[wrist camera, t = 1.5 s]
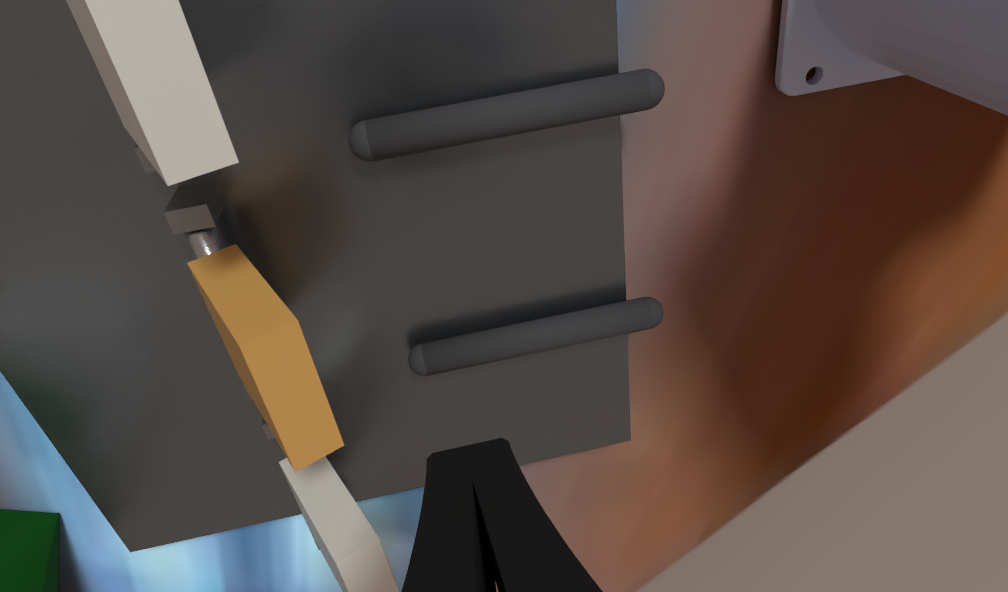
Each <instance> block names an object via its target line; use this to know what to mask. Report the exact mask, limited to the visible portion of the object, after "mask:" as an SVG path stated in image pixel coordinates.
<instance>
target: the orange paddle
mask: <svg viewBox="0 0 1008 592" xmlns="http://www.w3.org/2000/svg"><path fill="white" fill-rule="evenodd" d="M187 264H188V266H189V269H190V271H191V273H192V275H193V277H194V279H195V282H196V284H197V286H198V288H199V290H200V292H201V295H202V297H203V299H204V301H205V303H206V305H207V308H208V310H209V312H210V314H211V316H212V318H213V321H214V323H215V325H216V327H217V329H218V332H219V334H220V336H221V338H222V340H223V342H224V345H225V347H226V349H227V351H228V353H229V355H230V358H231V360H232V362H233V364H234V366H235V368H236V371H237V373H238V375H239V377H240V379H241V380H242V382H243V384H244V385H245V387H246V389H247V391H248V392H249V394H250V396H251V397H252V399H253V401H254V403H255V404H256V406H257V408H258V409H259V411H260V413H261V414H262V416H263V418H264V420H265V421H266V423H267V425H268V426H269V428H270V430H271V432H272V433H273V435H274V437H275V438H276V440H277V442H278V443H279V445H280V447H281V449H282V450H283V452H284V454H285V455H286V457H287V459H288V461H289V462H290V464H291V466H292V467H293V469H294V471H295V472H297V471H299V470H301V469H302V468H304V467H306V466H308V465H310V464H312V463H313V462H315V461H317V460H319V459H321V458H322V457H324V456H326V455H328V454H330V453H332V452H333V451H335V450H337V449H339V448H341V447H343V446H344V443H343V440H342V437H341V435H340V432H339V429H338V427H337V424H336V421H335V419H334V416H333V413H332V410H331V408H330V405H329V402H328V400H327V397H326V394H325V392H324V389H323V386H322V384H321V381H320V378H319V376H318V373H317V370H316V368H315V365H314V362H313V360H312V357H311V354H310V352H309V349H308V346H307V343H306V341H305V338H304V335H303V333H302V330H301V327H300V325H299V322H298V320H297V319H296V317H295V316H294V315H293V314H292V312H291V311H290V310H289V309H288V308H287V306H286V305H285V304H284V303H283V301H282V300H281V299H280V298H279V296H278V295H277V294H276V293H275V292H274V290H273V289H272V288H271V287H270V285H269V284H268V283H267V282H266V280H265V279H264V278H263V277H262V276H261V274H260V273H259V272H258V271H257V269H256V268H255V267H254V266H253V264H252V263H251V262H250V261H249V260H248V258H247V257H246V256H245V255H244V253H243V252H242V251H241V250H240V248H239V247H238V246H237V245H236V244H235V245H232V246H229V247H227V248H224V249H222V250H219V251H216V252H214V253H211V254H209V255H206V256H203V257H201V258H198V259H196V260H193V261H190V262H188V263H187Z"/></svg>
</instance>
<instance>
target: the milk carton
mask: <svg viewBox="0 0 1008 592" xmlns="http://www.w3.org/2000/svg"><path fill="white" fill-rule="evenodd" d="M0 592H59V514H58V513H44V512H29V511H15V510H0Z"/></svg>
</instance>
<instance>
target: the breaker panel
mask: <svg viewBox="0 0 1008 592" xmlns="http://www.w3.org/2000/svg"><path fill="white" fill-rule="evenodd" d="M179 3H180V6H181V8H182V11H183V14H184V16H185V19H186V22H187V24H188V27H189V30H190V32H191V35H192V38H193V41H194V43H195V46H196V49H197V51H198V54H199V57H200V59H201V62H202V65H203V67H204V70H205V73H206V75H207V78H208V81H209V83H210V86H211V89H212V91H213V94H214V97H215V100H216V102H217V105H218V108H219V110H220V113H221V116H222V118H223V121H224V124H225V126H226V129H227V132H228V134H229V137H230V140H231V142H232V145H233V148H234V150H235V153H236V156H237V158H238V161H239V163H236V164H233V165H230V166H227V167H224V168H221V169H218V170H215V171H212V172H209V173H206V174H203V175H200V176H197V177H194V178H191V179H188V180H185V181H182V182H179V183H176V184H173V185H170V186H167V184H166V183H165V182H164V180H163V179H162V177H161V176H160V175H159V173H158V172H157V171H156V169H155V168H154V167H153V165H152V164H151V163H150V161H149V160H148V158H147V157H146V156H145V154H144V153H143V152H142V150H141V149H140V148H139V146H138V145H137V143H136V142H135V141H134V139H133V138H132V137H131V135H130V134H129V133H128V131H127V130H126V129H125V127H124V125H123V123H122V121H121V119H120V116H119V114H118V112H117V110H116V108H115V106H114V103H113V101H112V99H111V97H110V95H109V93H108V90H107V88H106V86H105V84H104V82H103V80H102V77H101V75H100V73H99V71H98V69H97V67H96V64H95V62H94V60H93V58H92V56H91V53H90V51H89V49H88V47H87V45H86V43H85V40H84V38H83V36H82V34H81V32H80V30H79V27H78V25H77V23H76V21H75V19H74V17H73V14H72V12H71V10H70V8H69V6H68V4H67V1H66V0H0V371H1V373H2V374H3V375H4V377H5V378H6V380H7V381H8V382H9V384H10V385H11V387H12V388H13V389H14V391H15V392H16V394H17V395H18V396H19V398H20V399H21V401H22V402H23V403H24V405H25V406H26V408H27V409H28V410H29V412H30V413H31V414H32V416H33V417H34V419H35V420H36V421H37V423H38V424H39V426H40V427H41V428H42V430H43V431H44V433H45V434H46V435H47V437H48V438H49V440H50V441H51V442H52V444H53V445H54V447H55V448H56V449H57V451H58V452H59V453H60V455H61V456H62V458H63V459H64V460H65V462H66V463H67V465H68V466H69V467H70V469H71V470H72V472H73V473H74V474H75V476H76V477H77V479H78V480H79V481H80V483H81V484H82V485H83V487H84V488H85V490H86V491H87V492H88V494H89V495H90V497H91V498H92V499H93V501H94V502H95V504H96V505H97V506H98V508H99V509H100V511H101V512H102V513H103V515H104V516H105V518H106V519H107V520H108V522H109V523H110V524H111V526H112V527H113V529H114V530H115V531H116V533H117V534H118V536H119V537H120V538H121V540H122V541H123V543H124V544H125V545H126V547H127V548H128V550H129V551H130V552H133V551H138V550H142V549H147V548H151V547H156V546H160V545H165V544H169V543H174V542H178V541H182V540H187V539H191V538H196V537H200V536H205V535H209V534H214V533H218V532H223V531H227V530H232V529H236V528H241V527H245V526H250V525H254V524H259V523H263V522H267V521H272V520H276V519H281V518H285V517H290V516H294V515H299V514H302V512H301V510H300V507H299V505H298V503H297V501H296V499H295V497H294V494H293V492H292V490H291V488H290V486H289V484H288V481H287V479H286V477H285V475H284V473H283V471H282V468H281V466H280V464H279V462H280V461H282V460H284V459H285V458H287V457H286V455H285V454H284V452H283V450H282V449H281V447H280V445H279V443H278V442H277V440H276V438H275V437H274V435H273V433H272V432H271V430H270V428H269V426H268V425H267V423H266V421H265V420H264V418H263V416H262V414H261V413H260V411H259V409H258V408H257V406H256V404H255V403H254V401H253V399H252V397H251V396H250V394H249V392H248V391H247V389H246V387H245V385H244V384H243V382H242V380H241V379H240V377H239V375H238V373H237V371H236V368H235V366H234V364H233V362H232V360H231V358H230V355H229V353H228V351H227V349H226V347H225V345H224V342H223V340H222V338H221V336H220V334H219V332H218V329H217V327H216V325H215V323H214V321H213V318H212V316H211V314H210V312H209V310H208V308H207V305H206V303H205V301H204V299H203V297H202V295H201V292H200V290H199V288H198V286H197V284H196V282H195V279H194V277H193V275H192V273H191V271H190V269H189V266H188V264H187V263H188V262H190V261H193V260H196V259H198V258H201V257H203V256H206V255H209V254H211V253H214V252H216V251H219V250H222V249H224V248H227V247H229V246H232V245H235V244H236V245H237V246H238V247H239V248H240V250H241V251H242V252H243V253H244V255H245V256H246V257H247V258H248V260H249V261H250V262H251V263H252V264H253V266H254V267H255V268H256V269H257V271H258V272H259V273H260V274H261V276H262V277H263V278H264V279H265V280H266V282H267V283H268V284H269V285H270V287H271V288H272V289H273V290H274V292H275V293H276V294H277V295H278V296H279V298H280V299H281V300H282V301H283V303H284V304H285V305H286V306H287V308H288V309H289V310H290V311H291V312H292V314H293V315H294V316H295V317H296V319H297V320H298V322H299V325H300V327H301V330H302V333H303V335H304V338H305V341H306V343H307V346H308V349H309V352H310V354H311V357H312V360H313V362H314V365H315V368H316V370H317V373H318V376H319V378H320V381H321V384H322V386H323V389H324V392H325V394H326V397H327V400H328V402H329V405H330V408H331V410H332V413H333V416H334V419H335V421H336V424H337V427H338V429H339V432H340V435H341V437H342V440H343V443H344V446H343V447H341V448H339V449H337V450H335V451H333V452H332V453H330V454H328V455H326V458H327V459H328V461H329V462H330V464H331V465H332V467H333V468H334V470H335V471H336V473H337V475H338V476H339V478H340V479H341V481H342V482H343V484H344V485H345V487H346V488H347V490H348V491H349V493H350V494H351V496H352V497H353V499H354V500H355V502H357V501H361V500H366V499H370V498H375V497H379V496H384V495H388V494H393V493H397V492H402V491H406V490H411V489H415V488H420V487H424V486H425V480H426V466H427V458H428V457H429V456H430V455H431V454H432V453H434V452H439V451H443V450H448V449H452V448H457V447H461V446H466V445H470V444H475V443H479V442H484V441H489V440H493V439H498V438H504V439H506V440H508V441H509V443H510V446H511V449H512V452H513V454H514V456H515V459H516V461H517V463H518V465H522V464H527V463H531V462H536V461H540V460H545V459H549V458H554V457H558V456H563V455H567V454H572V453H576V452H581V451H585V450H589V449H594V448H598V447H603V446H607V445H612V444H616V443H621V442H625V441H630V440H631V434H630V404H629V374H628V344H627V334H623V335H619V336H614V337H609V338H605V339H600V340H595V341H590V342H586V343H581V344H576V345H572V346H567V347H562V348H557V349H553V350H548V351H543V352H539V353H534V354H529V355H524V356H520V357H515V358H510V359H505V360H501V361H496V362H491V363H487V364H482V365H477V366H472V367H468V368H463V369H458V370H454V371H449V372H444V373H439V374H435V375H430V376H420V375H417V374H415V373H414V372H413V371H412V370H411V368H410V367H409V363H408V356H409V353H410V351H411V350H412V349H413V348H414V347H415V346H416V345H418V344H422V343H426V342H431V341H436V340H441V339H446V338H450V337H455V336H460V335H465V334H470V333H474V332H479V331H484V330H489V329H493V328H498V327H503V326H508V325H513V324H517V323H522V322H527V321H532V320H537V319H541V318H546V317H551V316H556V315H561V314H565V313H570V312H575V311H580V310H585V309H589V308H594V307H599V306H604V305H609V304H613V303H618V302H623V301H626V283H625V253H624V223H623V193H622V163H621V133H620V115H618V116H612V117H607V118H602V119H596V120H591V121H586V122H580V123H575V124H570V125H565V126H559V127H554V128H549V129H543V130H538V131H533V132H527V133H522V134H517V135H511V136H506V137H501V138H496V139H490V140H485V141H480V142H474V143H469V144H464V145H458V146H453V147H448V148H442V149H437V150H432V151H426V152H421V153H416V154H411V155H405V156H400V157H395V158H389V159H384V160H379V161H373V162H368V161H364V160H361V159H359V158H358V157H357V156H355V155H354V153H353V152H352V150H351V149H350V146H349V134H350V132H351V130H352V128H353V127H354V126H355V125H356V124H357V123H359V122H361V121H364V120H369V119H374V118H380V117H385V116H391V115H396V114H402V113H407V112H412V111H418V110H423V109H429V108H434V107H440V106H445V105H450V104H456V103H461V102H467V101H472V100H478V99H483V98H489V97H494V96H499V95H505V94H510V93H516V92H521V91H527V90H532V89H538V88H543V87H548V86H554V85H559V84H565V83H570V82H576V81H581V80H586V79H592V78H597V77H603V76H608V75H614V74H619V72H618V42H617V12H616V0H179ZM315 542H316V541H315ZM316 545H317V543H316ZM317 547H318V545H317ZM318 549H319V547H318ZM319 550H320V549H319Z"/></svg>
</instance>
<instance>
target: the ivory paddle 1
mask: <svg viewBox="0 0 1008 592" xmlns="http://www.w3.org/2000/svg"><path fill="white" fill-rule="evenodd" d="M66 1H67V4H68V6H69V8H70V10H71V12H72V14H73V17H74V19H75V21H76V23H77V25H78V27H79V30H80V32H81V34H82V36H83V38H84V40H85V43H86V45H87V47H88V49H89V51H90V53H91V56H92V58H93V60H94V62H95V64H96V67H97V69H98V71H99V73H100V75H101V77H102V80H103V82H104V84H105V86H106V88H107V90H108V93H109V95H110V97H111V99H112V101H113V103H114V106H115V108H116V110H117V112H118V114H119V116H120V119H121V121H122V123H123V125H124V127H125V129H126V130H127V131H128V133H129V134H130V135H131V137H132V138H133V139H134V141H135V142H136V143H137V145H138V146H139V148H140V149H141V150H142V152H143V153H144V154H145V156H146V157H147V158H148V160H149V161H150V163H151V164H152V165H153V167H154V168H155V169H156V171H157V172H158V173H159V175H160V176H161V177H162V179H163V180H164V182H165V183H166V184H167V186H170V185H173V184H176V183H179V182H182V181H185V180H188V179H191V178H194V177H197V176H200V175H203V174H206V173H209V172H212V171H215V170H218V169H221V168H224V167H227V166H230V165H233V164H236V163H239V161H238V158H237V156H236V153H235V150H234V148H233V145H232V142H231V140H230V137H229V134H228V132H227V129H226V126H225V124H224V121H223V118H222V116H221V113H220V110H219V108H218V105H217V102H216V100H215V97H214V94H213V91H212V89H211V86H210V83H209V81H208V78H207V75H206V73H205V70H204V67H203V65H202V62H201V59H200V57H199V54H198V51H197V49H196V46H195V43H194V41H193V38H192V35H191V32H190V30H189V27H188V24H187V22H186V19H185V16H184V14H183V11H182V8H181V6H180V3H179V0H66Z"/></svg>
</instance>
